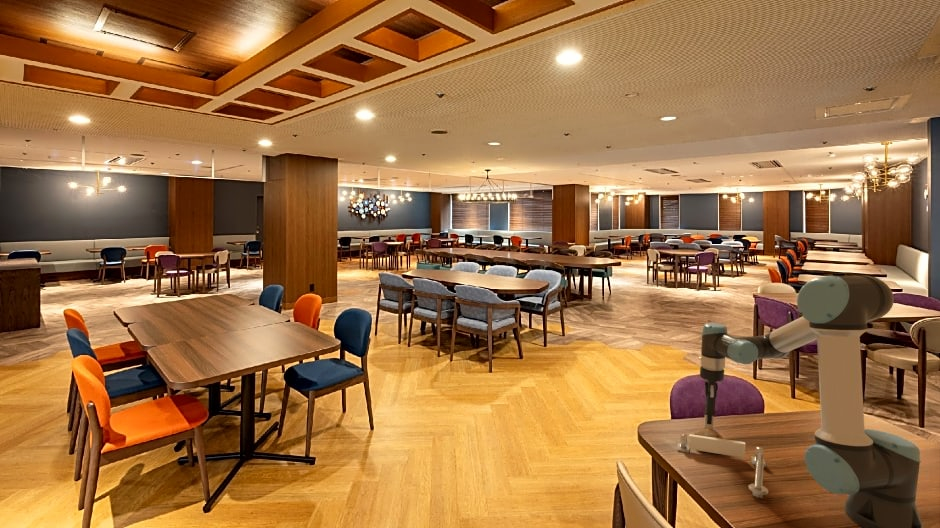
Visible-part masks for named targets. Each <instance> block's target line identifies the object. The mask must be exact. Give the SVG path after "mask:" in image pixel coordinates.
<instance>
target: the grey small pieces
mask: <svg viewBox="0 0 940 528" xmlns="http://www.w3.org/2000/svg"><path fill="white" fill-rule="evenodd" d="M687 442H688V434H686V433H681V434H680V441H679V442H677V451H678V452H683V453H690V449H689V447H688V446H689V444H688V443H687ZM754 450H755V451H754V452H755V453H754V456H752V455H751V456H750V460H751V463H752V466H753V465H754V466H757V465H756V464H757V463H756V462H757V460H758V453H759V452H761V453H762V454H764V453H763V451H764V448H763V447H762V446H755V449H754ZM763 461H764V462H763V463H764V464H763V465H764V466H763V467H764V468H766V467H767V463H766V460H765V458H763Z"/></svg>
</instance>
